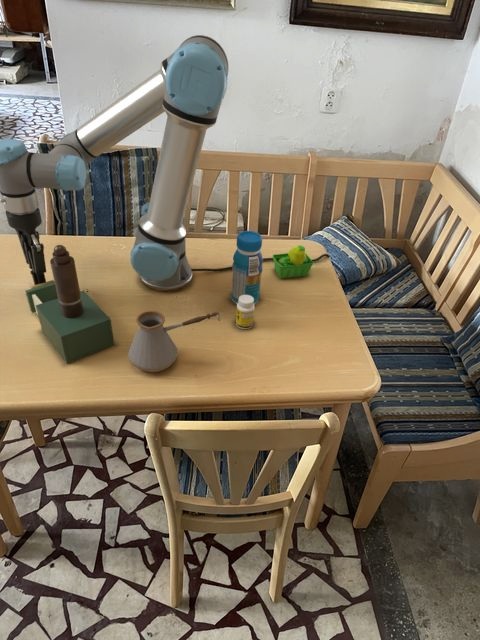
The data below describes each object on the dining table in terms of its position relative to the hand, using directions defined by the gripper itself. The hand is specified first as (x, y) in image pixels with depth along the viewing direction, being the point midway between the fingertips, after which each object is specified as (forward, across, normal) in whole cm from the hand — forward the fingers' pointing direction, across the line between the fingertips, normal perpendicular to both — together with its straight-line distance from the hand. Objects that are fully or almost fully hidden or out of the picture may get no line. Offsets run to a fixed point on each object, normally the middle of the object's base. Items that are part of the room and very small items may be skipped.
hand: (42, 291), depth 132 cm
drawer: (+1, +10, 0) cm, 10 cm away
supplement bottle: (+2, +40, +39) cm, 56 cm away
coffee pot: (+2, +42, +15) cm, 45 cm away
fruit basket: (+2, +28, +68) cm, 73 cm away
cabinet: (+2, +22, 0) cm, 22 cm away
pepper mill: (-6, +22, 0) cm, 23 cm away
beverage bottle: (+2, +31, +46) cm, 56 cm away
